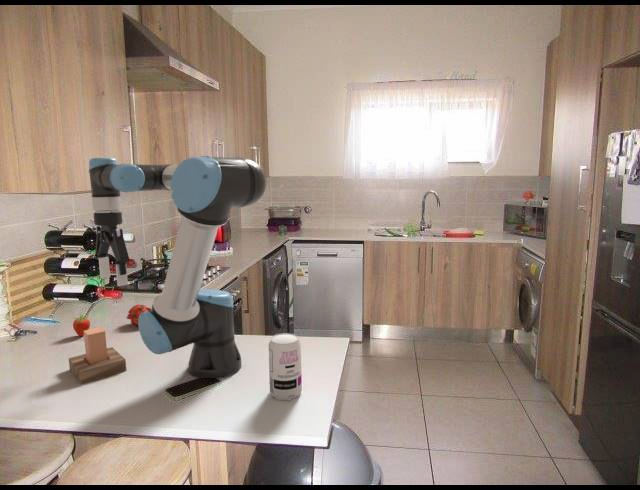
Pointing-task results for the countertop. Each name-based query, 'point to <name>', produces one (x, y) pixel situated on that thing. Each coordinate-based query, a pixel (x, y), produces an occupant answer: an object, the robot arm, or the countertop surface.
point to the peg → (95, 345)
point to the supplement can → (285, 366)
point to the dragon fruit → (136, 313)
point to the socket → (97, 366)
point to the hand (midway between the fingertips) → (113, 281)
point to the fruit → (81, 325)
